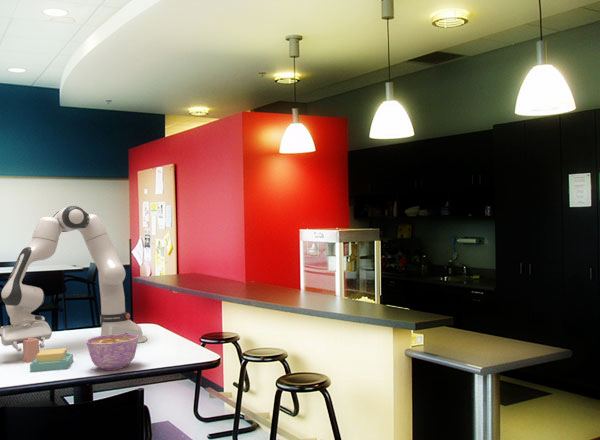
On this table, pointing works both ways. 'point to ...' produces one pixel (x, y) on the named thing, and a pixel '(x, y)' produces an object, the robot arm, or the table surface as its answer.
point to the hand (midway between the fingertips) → (31, 348)
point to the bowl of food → (112, 350)
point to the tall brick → (30, 349)
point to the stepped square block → (51, 360)
